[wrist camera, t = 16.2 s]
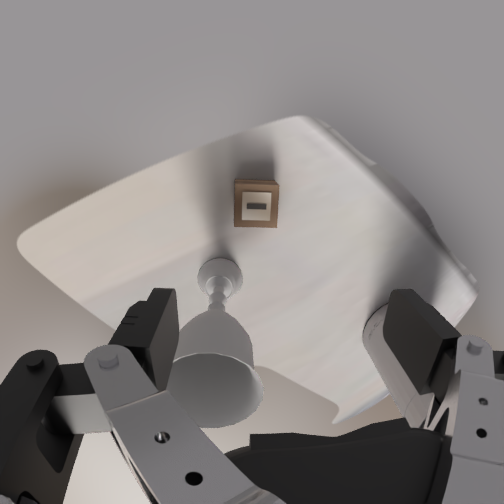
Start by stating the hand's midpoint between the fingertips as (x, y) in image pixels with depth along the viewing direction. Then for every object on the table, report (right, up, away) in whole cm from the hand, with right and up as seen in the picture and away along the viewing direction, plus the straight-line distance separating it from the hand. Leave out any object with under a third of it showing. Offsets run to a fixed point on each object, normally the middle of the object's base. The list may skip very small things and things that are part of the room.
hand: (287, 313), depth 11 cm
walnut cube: (-1, +8, +22) cm, 23 cm away
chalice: (-5, -1, +24) cm, 25 cm away
